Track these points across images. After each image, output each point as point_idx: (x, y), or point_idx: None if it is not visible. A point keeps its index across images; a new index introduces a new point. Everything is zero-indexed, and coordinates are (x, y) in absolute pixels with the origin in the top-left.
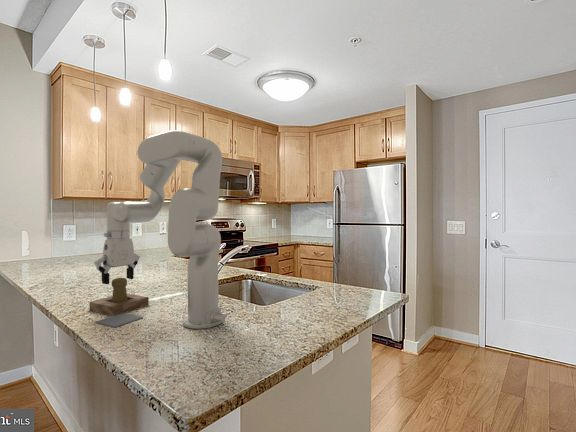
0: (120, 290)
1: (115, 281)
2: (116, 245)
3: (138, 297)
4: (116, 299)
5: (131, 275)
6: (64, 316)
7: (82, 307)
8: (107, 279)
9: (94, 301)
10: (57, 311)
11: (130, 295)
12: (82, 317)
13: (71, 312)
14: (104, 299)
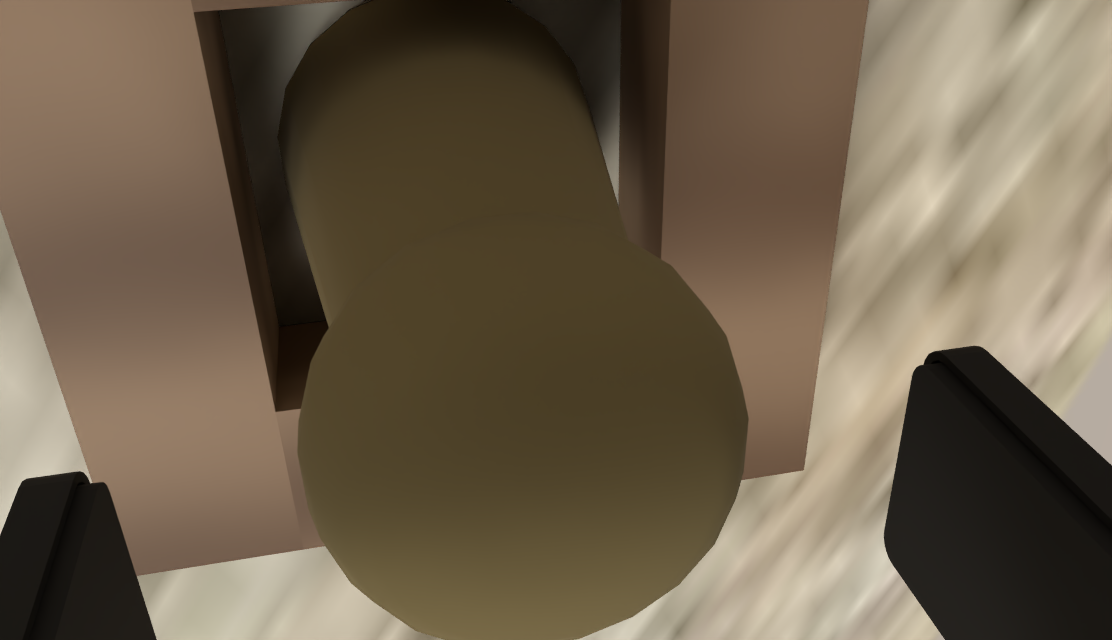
0: (559, 193)
1: (732, 401)
2: None
3: (83, 3)
4: (592, 142)
5: (78, 568)
6: (1041, 375)
7: (703, 573)
8: (1058, 434)
9: (753, 442)
10: (918, 612)
11: (133, 331)
12: (1022, 140)
13: None
14: None
